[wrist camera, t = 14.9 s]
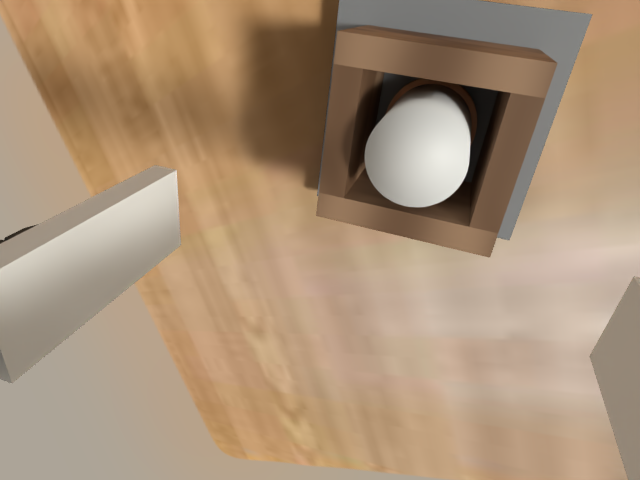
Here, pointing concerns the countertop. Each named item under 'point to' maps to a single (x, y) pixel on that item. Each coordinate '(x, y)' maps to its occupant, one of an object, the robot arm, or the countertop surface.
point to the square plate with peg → (454, 97)
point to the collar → (441, 65)
